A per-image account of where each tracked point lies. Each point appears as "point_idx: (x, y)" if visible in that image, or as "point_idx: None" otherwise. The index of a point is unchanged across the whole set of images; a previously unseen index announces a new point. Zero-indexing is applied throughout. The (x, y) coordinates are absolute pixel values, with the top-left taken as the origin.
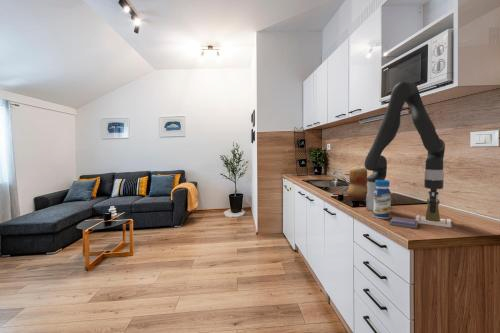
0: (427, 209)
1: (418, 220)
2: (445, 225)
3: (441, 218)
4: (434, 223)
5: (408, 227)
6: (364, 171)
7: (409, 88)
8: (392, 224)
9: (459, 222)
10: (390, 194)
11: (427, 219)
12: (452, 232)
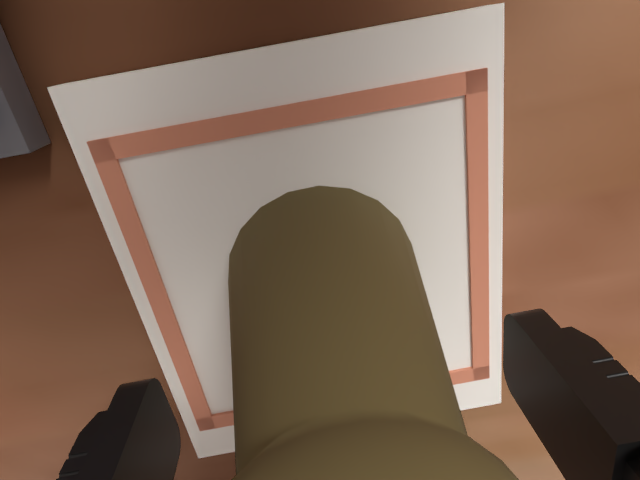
0: (274, 322)
1: (92, 140)
2: (184, 412)
3: (476, 336)
4: (146, 329)
5: None
6: None
7: None
8: None
9: (496, 441)
10: None
11: (239, 239)
12: (19, 474)
